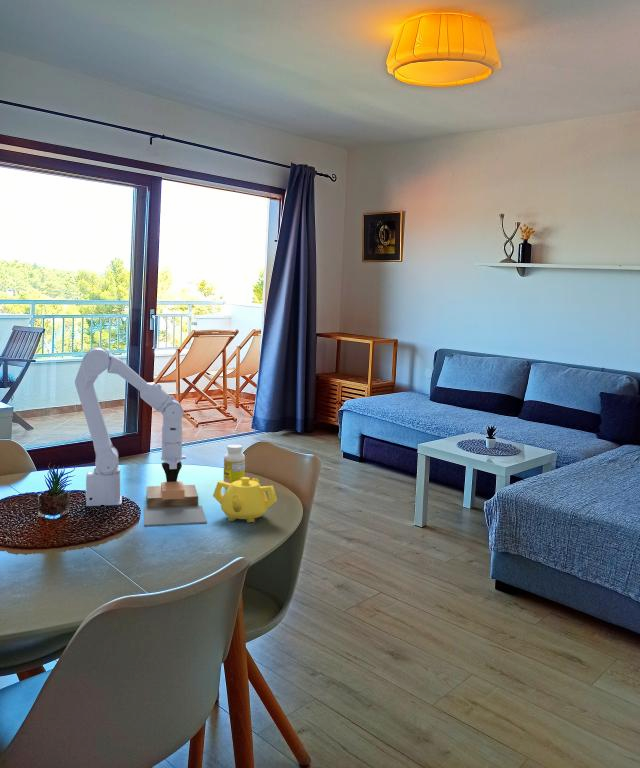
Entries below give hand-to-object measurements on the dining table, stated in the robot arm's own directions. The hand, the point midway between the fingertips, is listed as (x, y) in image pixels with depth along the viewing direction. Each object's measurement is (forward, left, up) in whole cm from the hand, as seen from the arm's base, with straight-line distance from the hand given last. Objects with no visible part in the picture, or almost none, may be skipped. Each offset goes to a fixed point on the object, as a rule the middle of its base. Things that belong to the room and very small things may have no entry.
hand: (171, 487), depth 203 cm
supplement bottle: (+20, +11, -4) cm, 23 cm away
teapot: (+18, -20, -4) cm, 27 cm away
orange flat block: (0, -6, 0) cm, 6 cm away
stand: (0, -3, -3) cm, 4 cm away
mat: (0, -16, -3) cm, 16 cm away
